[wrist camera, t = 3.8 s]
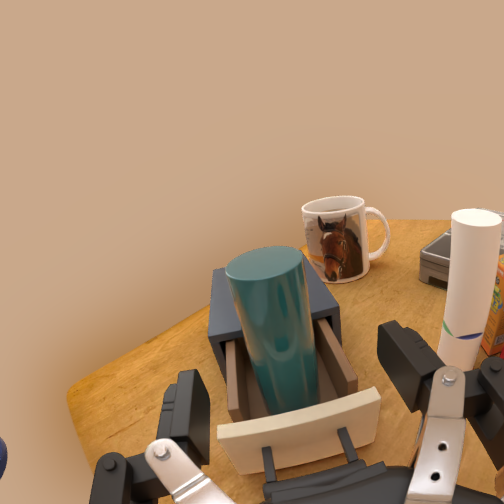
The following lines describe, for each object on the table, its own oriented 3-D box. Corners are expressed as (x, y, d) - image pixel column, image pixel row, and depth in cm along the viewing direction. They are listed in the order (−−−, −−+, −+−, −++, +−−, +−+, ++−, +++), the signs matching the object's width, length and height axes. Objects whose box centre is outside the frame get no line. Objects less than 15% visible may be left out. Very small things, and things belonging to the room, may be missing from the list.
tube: (447, 347, 24) (462, 205, 19) (478, 362, 21) (506, 214, 16) (426, 371, 23) (442, 219, 18) (460, 389, 19) (494, 230, 14)
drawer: (393, 483, 13) (409, 447, 11) (243, 521, 13) (217, 496, 11) (327, 343, 30) (322, 298, 28) (232, 365, 30) (217, 322, 28)
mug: (339, 251, 54) (331, 193, 50) (394, 264, 44) (390, 197, 40) (299, 274, 49) (288, 209, 45) (357, 294, 39) (351, 217, 35)
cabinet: (342, 367, 27) (339, 305, 24) (230, 394, 27) (207, 336, 24) (308, 299, 41) (300, 249, 38) (227, 318, 41) (213, 269, 38)
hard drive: (549, 246, 32) (551, 223, 31) (525, 320, 22) (534, 288, 21) (476, 227, 48) (477, 207, 47) (416, 280, 38) (417, 252, 36)
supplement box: (474, 339, 24) (490, 254, 20) (496, 332, 23) (513, 249, 20) (486, 358, 21) (508, 270, 17) (509, 349, 20) (532, 263, 17)
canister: (268, 427, 20) (224, 287, 16) (261, 387, 25) (224, 255, 20) (327, 413, 20) (312, 267, 16) (313, 374, 25) (293, 240, 20)
